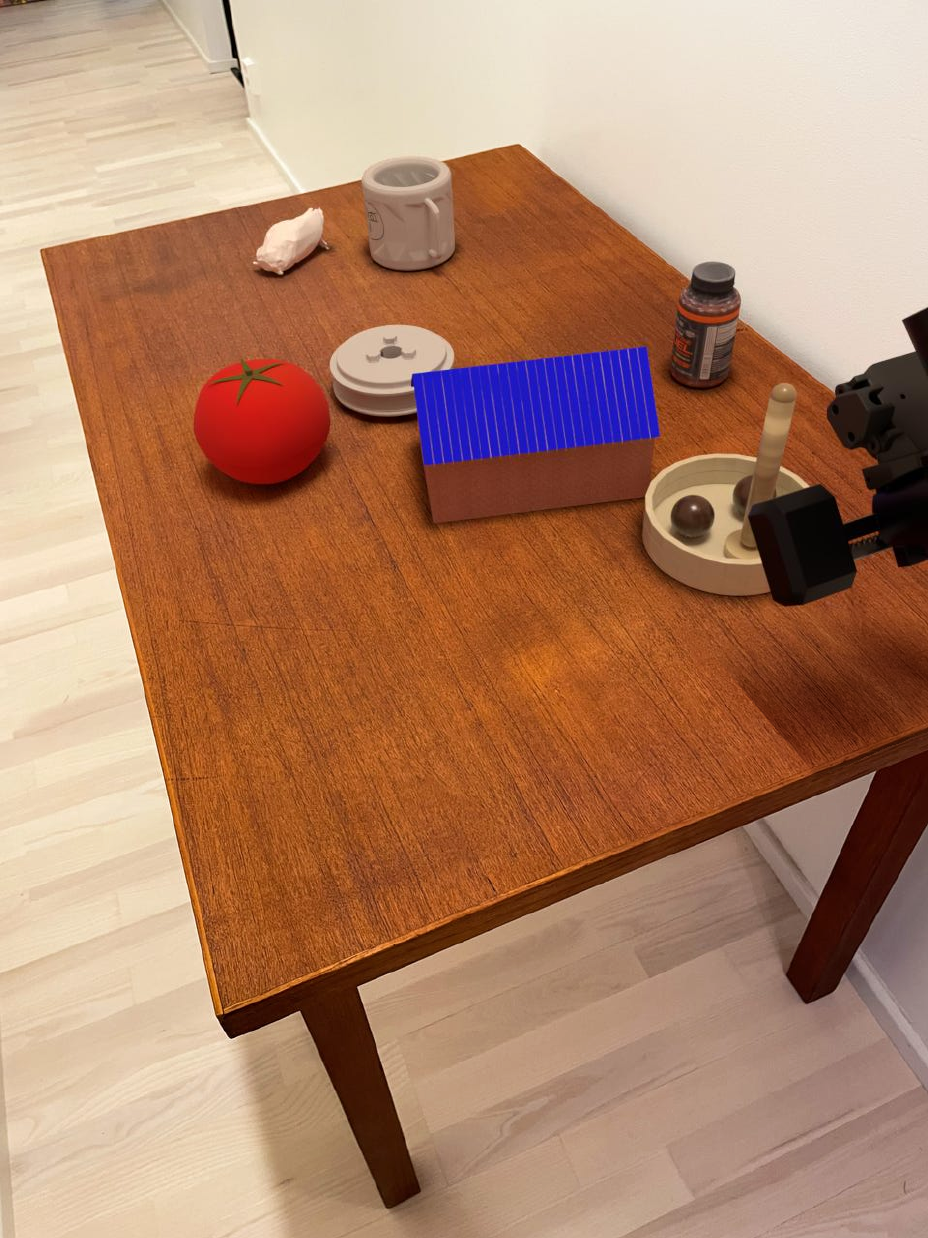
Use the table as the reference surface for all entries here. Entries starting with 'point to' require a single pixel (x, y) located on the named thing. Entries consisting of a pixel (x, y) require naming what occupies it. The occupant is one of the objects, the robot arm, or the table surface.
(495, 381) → the house
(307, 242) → the pale pink lumpy figure
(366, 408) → the lid
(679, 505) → the bead
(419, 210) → the mug
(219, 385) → the tomato
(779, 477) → the bowl
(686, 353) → the supplement bottle
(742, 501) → the bead
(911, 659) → the table surface
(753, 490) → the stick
